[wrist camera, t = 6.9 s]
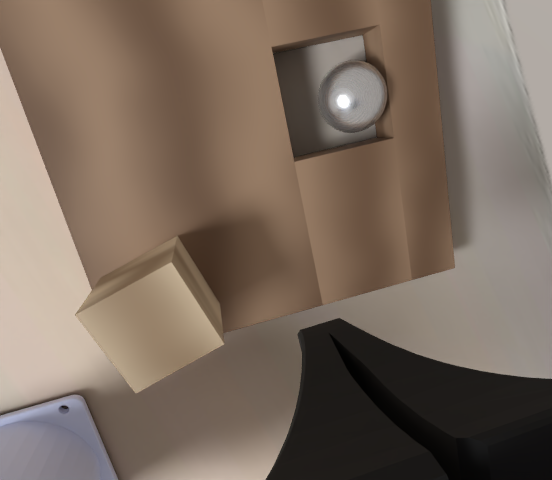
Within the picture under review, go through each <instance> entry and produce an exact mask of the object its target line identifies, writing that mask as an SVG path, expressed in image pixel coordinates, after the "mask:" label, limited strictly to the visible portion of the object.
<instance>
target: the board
mask: <svg viewBox="0 0 552 480" xmlns="http://www.w3.org/2000/svg"><path fill="white" fill-rule="evenodd" d="M360 35H363V39H364V46H365V53H366V61H367V63H369V64H371V65H373V66H374V67H375V68H376V69H377V70H378V71H379V72H380V73H381V74H382V76H383V78H384V80H385V83H386V86H387V102H386V106H385V109H384V111H383V113H382V115H381V116H380V118H379V119H378V120H377V121H376V122H375V126H376V133H377V138H373V139H369V140H364V141H360V142H356V143H352V144H348V145H343V146H339V147H335V148H331V149H327V150H322V151H318V152H314V153H310V154H305V155H301V156H297V157H293V153H292V148H291V143H290V138H289V132H288V127H287V122H286V117H285V112H284V107H283V102H282V97H281V92H280V87H279V82H278V77H277V72H276V67H275V62H274V57H273V53H278V52H282V51H287V50H292V49H297V48H302V47H307V46H311V45H316V44H321V43H326V42H331V41H336V40H340V39H345V38H350V37H355V36H360ZM0 48H1V51H2V53H3V56H4V58H5V61H6V64H7V66H8V69H9V72H10V74H11V77H12V80H13V82H14V85H15V88H16V90H17V93H18V95H19V98H20V101H21V103H22V106H23V109H24V111H25V114H26V117H27V119H28V122H29V125H30V127H31V130H32V133H33V135H34V138H35V140H36V143H37V146H38V148H39V151H40V154H41V156H42V159H43V162H44V164H45V167H46V170H47V172H48V175H49V177H50V180H51V183H52V185H53V188H54V191H55V193H56V196H57V199H58V201H59V204H60V207H61V209H62V212H63V214H64V217H65V220H66V222H67V225H68V228H69V230H70V233H71V236H72V238H73V241H74V244H75V246H76V249H77V252H78V254H79V257H80V259H81V262H82V265H83V267H84V270H85V273H86V275H87V278H88V281H89V283H90V286H91V289H92V290H93V288H94V287H95V285H96V284H97V282H98V281H99V279H100V278H101V277H103V276H105V275H107V274H108V273H110V272H112V271H114V270H116V269H118V268H119V267H121V266H123V265H125V264H127V263H129V262H130V261H132V260H134V259H136V258H138V257H140V256H141V255H143V254H145V253H147V252H149V251H150V250H152V249H154V248H156V247H158V246H160V245H161V244H163V243H165V242H167V241H169V240H171V239H172V238H174V237H176V236H178V238H179V239H180V241H181V242H182V244H183V246H184V247H185V249H186V250H187V252H188V253H189V255H190V257H191V258H192V260H193V261H194V263H195V265H196V266H197V268H198V269H199V271H200V273H201V274H202V276H203V277H204V279H205V281H206V282H207V284H208V285H209V287H210V289H211V290H212V292H213V293H214V295H215V297H216V298H217V300H218V301H219V303H220V308H221V317H222V326H223V333H226V332H229V331H233V330H236V329H240V328H243V327H247V326H250V325H254V324H257V323H261V322H265V321H268V320H272V319H275V318H279V317H282V316H286V315H289V314H293V313H297V312H300V311H304V310H307V309H311V308H314V307H318V306H321V305H325V304H328V303H332V302H336V301H339V300H343V299H346V298H350V297H353V296H357V295H360V294H364V293H367V292H371V291H375V290H378V289H382V288H385V287H389V286H392V285H396V284H399V283H403V282H406V281H410V280H414V279H417V278H421V277H424V276H428V275H431V274H435V273H438V272H442V271H445V270H449V269H453V268H455V263H454V252H453V241H452V230H451V219H450V208H449V197H448V186H447V175H446V164H445V153H444V142H443V131H442V120H441V109H440V98H439V87H438V76H437V65H436V54H435V43H434V32H433V21H432V10H431V0H0Z"/></svg>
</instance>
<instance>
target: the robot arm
mask: <svg viewBox="0 0 552 480" xmlns="http://www.w3.org/2000/svg"><path fill="white" fill-rule="evenodd" d="M298 338H299V342H300V346H301V350H302V374H301V382H300V390H299V396H298V401H297V405H296V409H295V413H294V416H293V419H292V423H291V426H290V429H289V432H288V434H287V437H286V440H285V442H284V444H283V446H282V449H281V451H280V453H279V455H278V457H277V460H276V462H275V464H274V466H273V468H272V470H271V471H270V473H269V475H268V476H267V478H266V480H552V379H542V378H527V377H519V376H511V375H502V374H496V373H489V372H483V371H478V370H473V369H469V368H464V367H459V366H455V365H451V364H447V363H443V362H440V361H436V360H433V359H430V358H426V357H423V356H420V355H417V354H414V353H412V352H409V351H407V350H404V349H402V348H399V347H397V346H394V345H392V344H390V343H387V342H385V341H383V340H381V339H379V338H377V337H375V336H373V335H371V334H369V333H367V332H365V331H363V330H361V329H359V328H357V327H355V326H353V325H351V324H349V323H348V322H346V321H344V320H342V319H340V318H338V319H335V320H331V321H328V322H325V323H322V324H318V325H315V326H312V327H309V328H305V329H302V330H300V331H299V333H298ZM62 405H66V406H68V408H69V409H64V408H62V407H61V406H62ZM0 480H118V478H117V475H116V473H115V471H114V468H113V466H112V464H111V461H110V459H109V456H108V454H107V452H106V449H105V447H104V445H103V442H102V440H101V437H100V435H99V433H98V430H97V428H96V426H95V423H94V421H93V418H92V416H91V414H90V411H89V409H88V406H87V404H86V402H85V400H84V398H83V397H82V396H80V395H70V396H67V397H63V398H60V399H56V400H53V401H49V402H46V403H42V404H39V405H35V406H32V407H28V408H25V409H21V410H18V411H14V412H11V413H7V414H4V415H0Z"/></svg>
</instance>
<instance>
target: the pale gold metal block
mask: <svg viewBox="0 0 552 480" xmlns="http://www.w3.org/2000/svg"><path fill="white" fill-rule="evenodd" d="M75 316H76V317H77V318H78V319H79V321H80V322H81V323H82V325H83V326H84V327H85V329H86V330H87V331H88V332H89V334H90V335H91V336H92V338H93V339H94V340H95V342H96V343H97V344H98V345H99V347H100V348H101V349H102V351H103V352H104V353H105V354H106V356H107V357H108V358H109V360H110V361H111V362H112V364H113V365H114V366H115V367H116V369H117V370H118V371H119V373H120V374H121V375H122V376H123V378H124V379H125V380H126V382H127V383H128V384H129V386H130V387H131V388H132V389H133V391H134V392H135V393H138V392H140V391H142V390H143V389H145V388H147V387H149V386H151V385H152V384H154V383H156V382H158V381H160V380H161V379H163V378H165V377H167V376H169V375H170V374H172V373H174V372H176V371H177V370H179V369H181V368H183V367H185V366H186V365H188V364H190V363H192V362H194V361H195V360H197V359H199V358H201V357H203V356H204V355H206V354H208V353H210V352H211V351H213V350H215V349H217V348H219V347H220V346H222V345H224V336H223V326H222V317H221V308H220V303H219V301H218V300H217V298H216V297H215V295H214V293H213V292H212V290H211V289H210V287H209V285H208V284H207V282H206V281H205V279H204V277H203V276H202V274H201V273H200V271H199V269H198V268H197V266H196V265H195V263H194V261H193V260H192V258H191V257H190V255H189V253H188V252H187V250H186V249H185V247H184V246H183V244H182V242H181V241H180V239H179V238H178V236H176V237H174V238H172V239H171V240H169V241H167V242H165V243H163V244H161V245H160V246H158V247H156V248H154V249H152V250H150V251H149V252H147V253H145V254H143V255H141V256H140V257H138V258H136V259H134V260H132V261H130V262H129V263H127V264H125V265H123V266H121V267H119V268H118V269H116V270H114V271H112V272H110V273H108V274H107V275H105V276H103V277H101V278H100V279H99V281H98V282H97V284H96V285H95V287H94V288H93V290H92V291H91V293H90V294H89V295H88V297H87V298H86V300H85V301H84V303H83V304H82V306H81V307H80V309H79V310H78V311H77V313H76V314H75Z"/></svg>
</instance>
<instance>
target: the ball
mask: <svg viewBox="0 0 552 480" xmlns="http://www.w3.org/2000/svg"><path fill="white" fill-rule="evenodd" d="M386 102H387V86H386V83H385V80H384V78H383V76H382V74H381V73H380V72H379V71H378V70H377V69H376V68H375V67H374V66H373V65H371V64H369V63H367V62H364V61H359V60H350V61H346V62H342V63H340V64H338V65H336V66H335V67H333V68H332V69H331V70H330V71H329V72H328V73H327V74H326V76H325V77H324V78H323V80H322V82H321V85H320V88H319V92H318V106H319V110H320V113H321V115H322V117H323V118H324V120H325V121H326V122H327V123H328V124H329V125H330V126H331V127H333V128H334V129H336V130H339V131H342V132H347V133H355V132H359V131H363V130H365V129H367V128H369V127H370V126H372V125H373V124H374V123H375V122H376V121H377V120H378V119H379V118H380V116H381V115H382V113H383V111H384V109H385V106H386Z"/></svg>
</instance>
